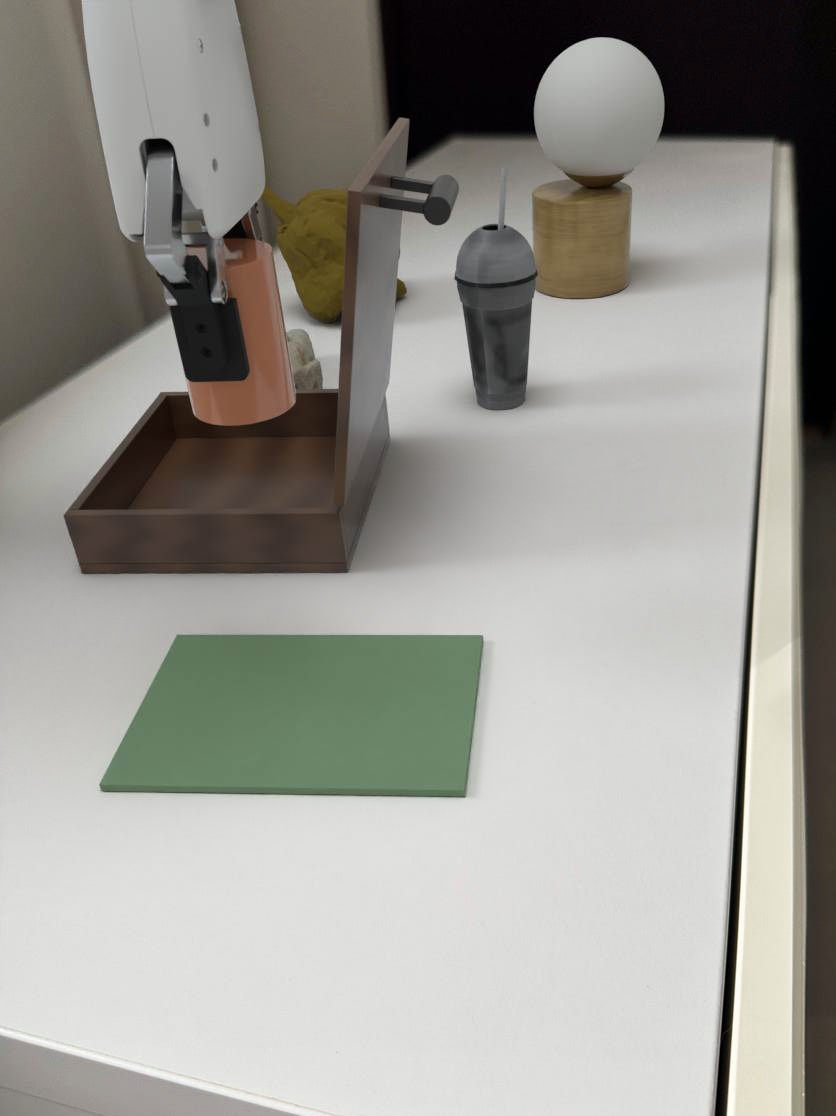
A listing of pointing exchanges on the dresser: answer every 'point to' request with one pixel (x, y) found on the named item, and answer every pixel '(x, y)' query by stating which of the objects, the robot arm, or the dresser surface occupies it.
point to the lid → (375, 290)
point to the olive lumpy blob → (316, 248)
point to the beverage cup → (497, 308)
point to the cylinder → (250, 342)
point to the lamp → (591, 164)
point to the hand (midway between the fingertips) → (234, 352)
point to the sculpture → (303, 361)
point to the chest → (226, 493)
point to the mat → (305, 716)
